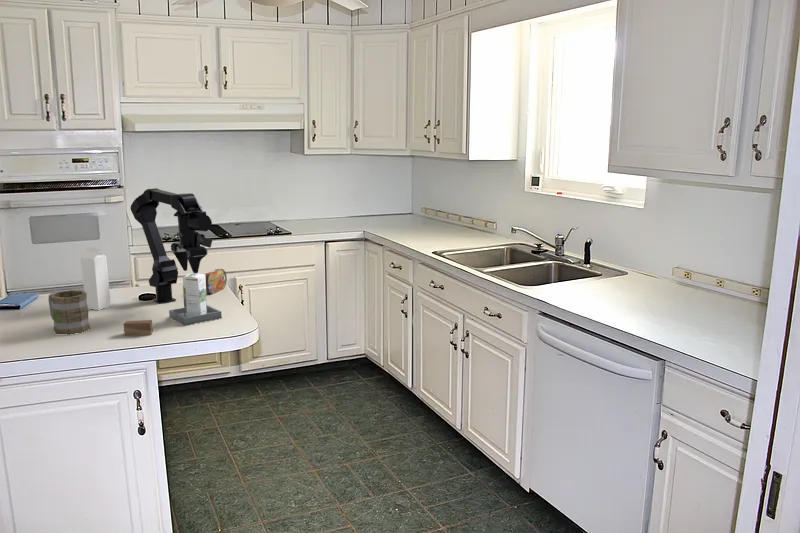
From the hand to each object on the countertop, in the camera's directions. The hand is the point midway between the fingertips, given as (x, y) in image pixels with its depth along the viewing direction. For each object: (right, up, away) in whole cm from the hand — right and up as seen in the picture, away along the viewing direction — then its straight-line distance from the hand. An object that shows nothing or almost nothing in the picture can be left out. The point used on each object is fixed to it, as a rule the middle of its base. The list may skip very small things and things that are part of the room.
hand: (190, 272), depth 242 cm
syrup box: (+5, -15, -11) cm, 19 cm away
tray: (+5, -16, -10) cm, 19 cm away
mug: (-33, -18, -23) cm, 44 cm away
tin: (+2, -8, +27) cm, 28 cm away
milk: (-34, -13, +2) cm, 37 cm away
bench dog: (-8, -19, -27) cm, 35 cm away
